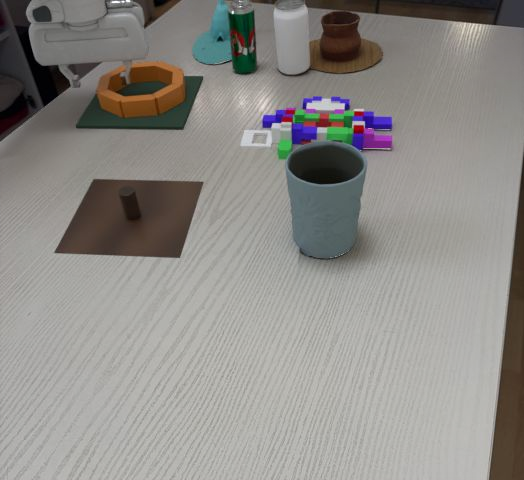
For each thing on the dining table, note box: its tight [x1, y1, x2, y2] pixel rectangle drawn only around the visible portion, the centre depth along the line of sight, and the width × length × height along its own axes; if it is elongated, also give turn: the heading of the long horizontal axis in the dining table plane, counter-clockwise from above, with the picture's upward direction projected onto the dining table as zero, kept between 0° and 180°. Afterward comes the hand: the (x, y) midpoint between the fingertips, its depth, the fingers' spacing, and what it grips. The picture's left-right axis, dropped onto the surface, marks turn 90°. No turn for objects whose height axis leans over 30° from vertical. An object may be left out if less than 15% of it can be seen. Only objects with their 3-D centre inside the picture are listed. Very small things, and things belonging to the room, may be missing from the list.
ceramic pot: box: [308, 10, 384, 75], centre depth 111 cm, size 18×18×7 cm
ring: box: [95, 60, 185, 118], centre depth 103 cm, size 16×16×3 cm
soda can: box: [228, 0, 258, 75], centre depth 106 cm, size 5×5×12 cm
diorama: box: [191, 0, 232, 65], centre depth 116 cm, size 12×20×9 cm, turn 173°
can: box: [273, 0, 310, 76], centre depth 105 cm, size 6×6×12 cm
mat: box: [74, 75, 204, 130], centre depth 104 cm, size 20×20×1 cm
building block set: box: [239, 95, 393, 160], centre depth 92 cm, size 25×20×4 cm
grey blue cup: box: [284, 141, 368, 258], centre depth 71 cm, size 10×10×12 cm
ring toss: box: [54, 178, 205, 259], centre depth 79 cm, size 18×18×5 cm
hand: (101, 85), depth 102 cm, fingers open, 8 cm apart
